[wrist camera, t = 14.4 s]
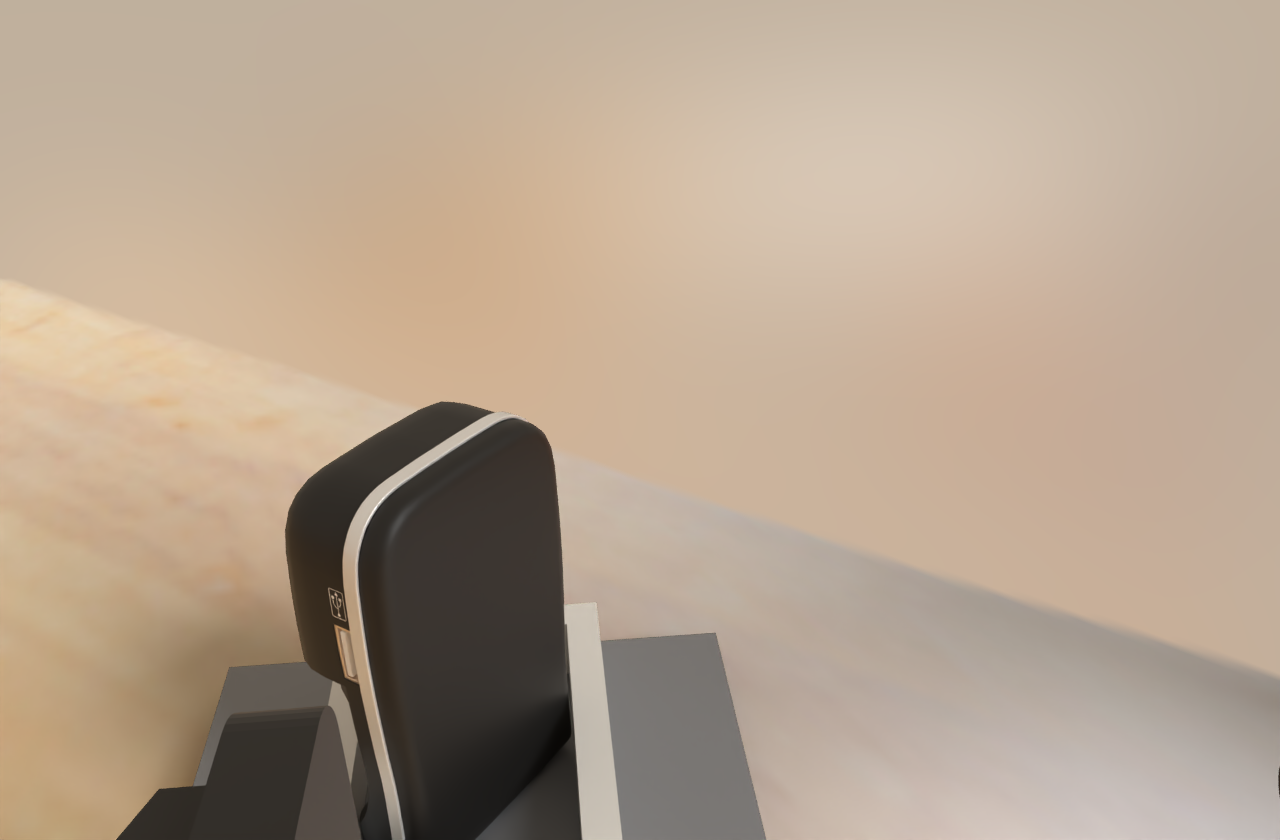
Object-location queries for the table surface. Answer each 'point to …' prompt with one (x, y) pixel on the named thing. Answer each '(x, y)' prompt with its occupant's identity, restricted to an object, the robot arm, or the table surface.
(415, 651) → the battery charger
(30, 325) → the table surface
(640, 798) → the charging dock
